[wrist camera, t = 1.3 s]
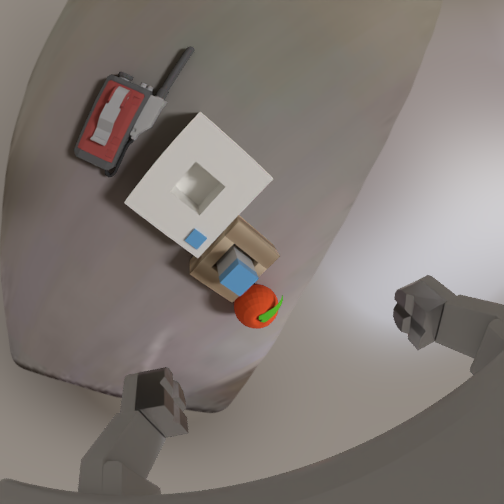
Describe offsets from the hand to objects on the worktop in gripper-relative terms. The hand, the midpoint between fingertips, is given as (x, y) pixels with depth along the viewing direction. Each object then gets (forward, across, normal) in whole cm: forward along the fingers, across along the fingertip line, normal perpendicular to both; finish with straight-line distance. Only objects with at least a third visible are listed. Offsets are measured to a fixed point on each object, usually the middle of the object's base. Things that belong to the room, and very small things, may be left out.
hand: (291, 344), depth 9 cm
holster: (+33, 0, +12) cm, 35 cm away
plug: (+32, 0, +12) cm, 34 cm away
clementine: (+33, -2, +20) cm, 39 cm away
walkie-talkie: (+33, +8, -13) cm, 36 cm away
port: (+32, +2, 0) cm, 32 cm away
